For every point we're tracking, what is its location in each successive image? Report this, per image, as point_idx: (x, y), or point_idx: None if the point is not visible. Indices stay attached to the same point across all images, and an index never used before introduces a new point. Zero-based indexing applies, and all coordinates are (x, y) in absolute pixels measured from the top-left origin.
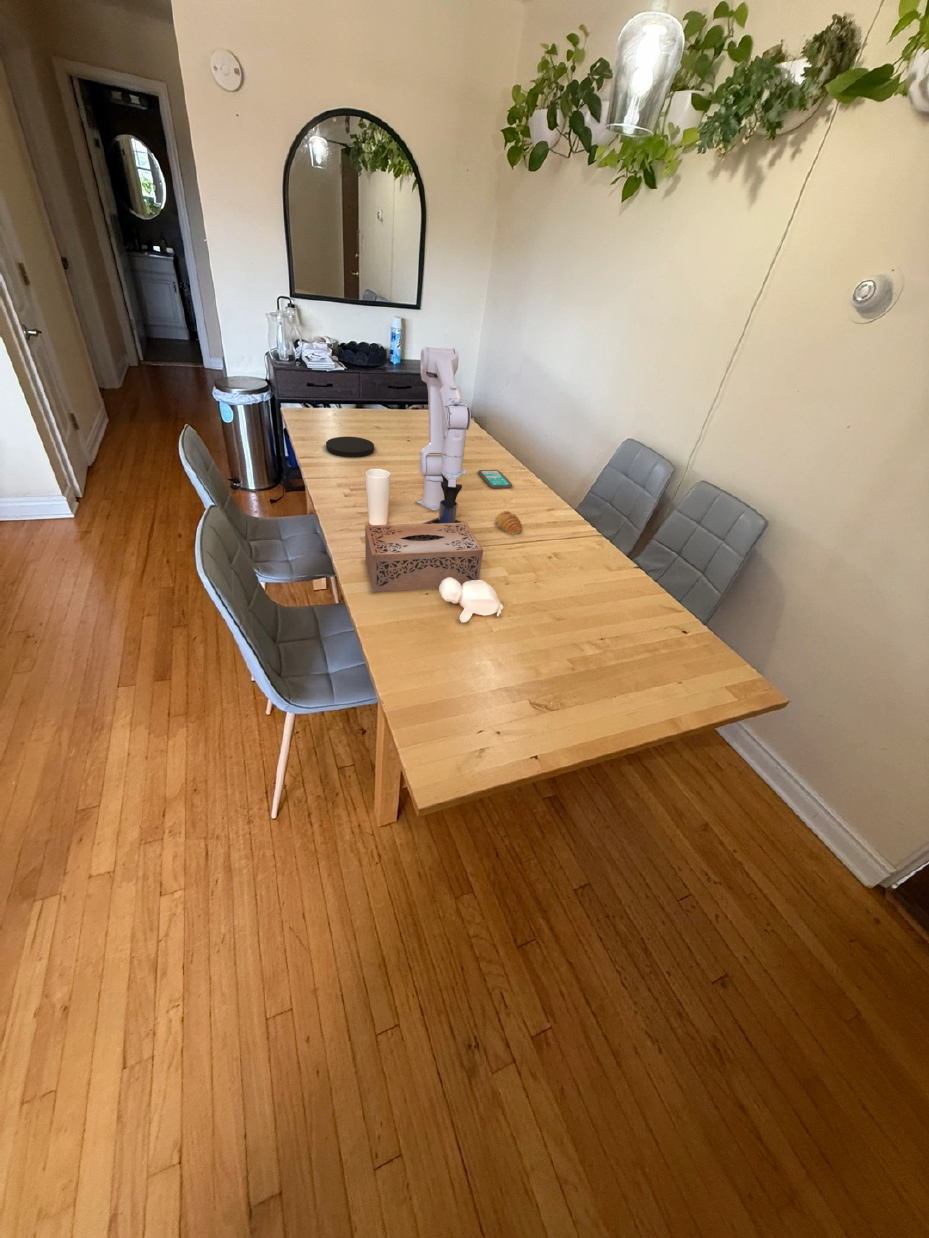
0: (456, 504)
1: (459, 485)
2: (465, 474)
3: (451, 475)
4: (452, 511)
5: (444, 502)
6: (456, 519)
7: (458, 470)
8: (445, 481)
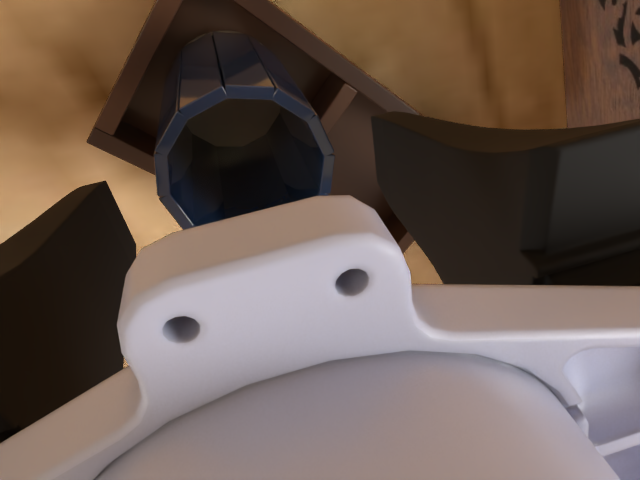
0: (246, 95)
1: (605, 180)
2: (364, 210)
3: (630, 437)
4: (309, 103)
5: (193, 213)
6: (138, 45)
7: (607, 467)
8: (108, 373)
